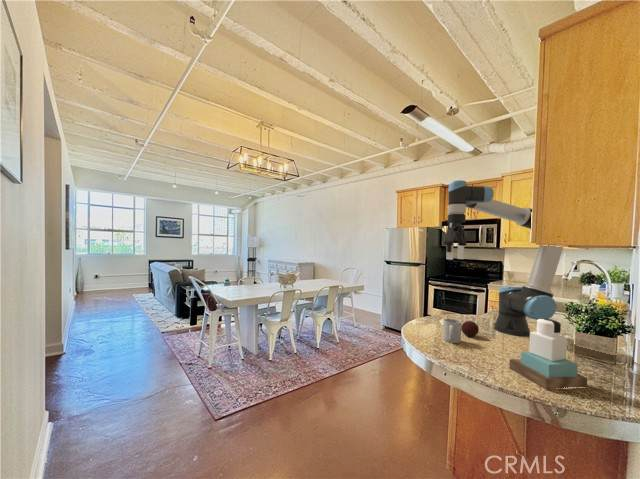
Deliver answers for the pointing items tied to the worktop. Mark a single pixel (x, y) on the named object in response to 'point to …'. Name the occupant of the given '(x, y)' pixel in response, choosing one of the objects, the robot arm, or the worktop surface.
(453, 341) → the cup
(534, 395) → the worktop surface
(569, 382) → the tower base slab
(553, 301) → the robot arm
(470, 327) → the dark red textured ball
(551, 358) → the medicine bottle
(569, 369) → the tower top block
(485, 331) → the worktop surface
